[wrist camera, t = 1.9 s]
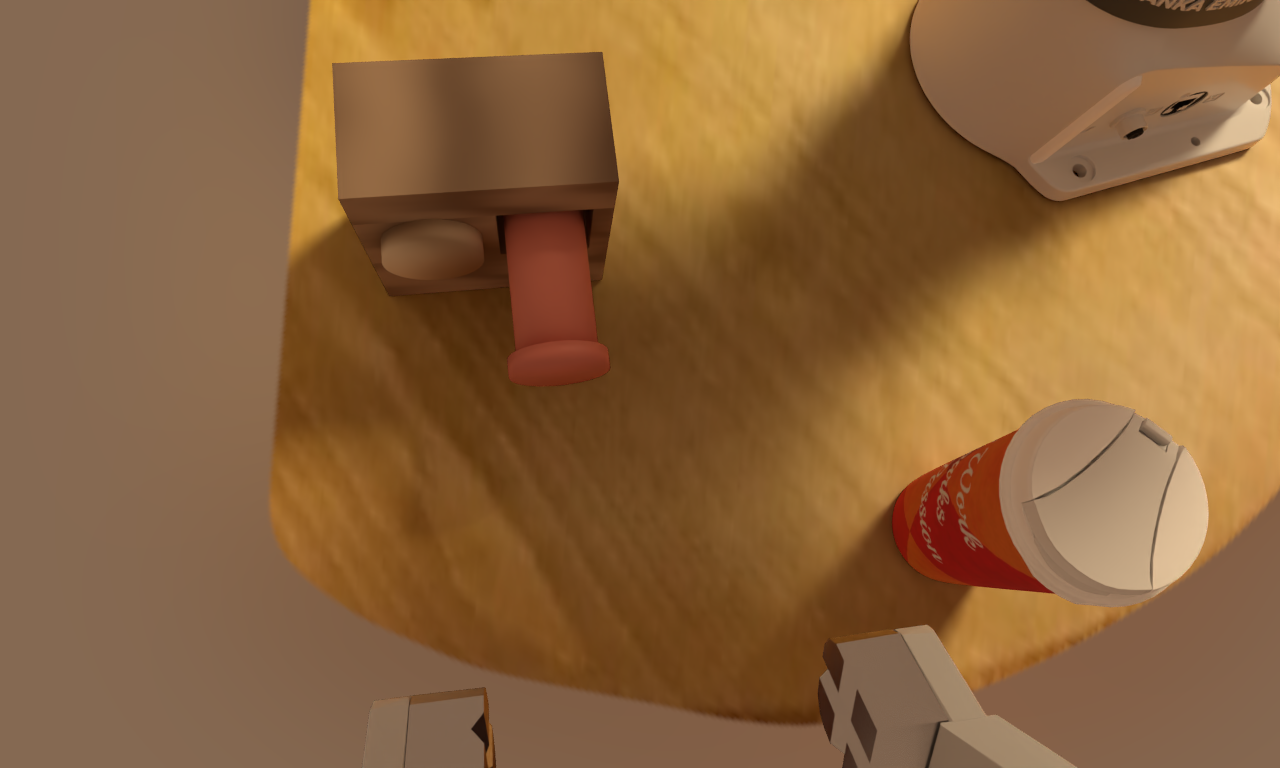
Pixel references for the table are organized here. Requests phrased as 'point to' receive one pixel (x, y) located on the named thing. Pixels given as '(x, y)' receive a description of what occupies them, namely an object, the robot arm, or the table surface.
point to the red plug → (551, 301)
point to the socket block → (470, 161)
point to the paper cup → (1061, 509)
